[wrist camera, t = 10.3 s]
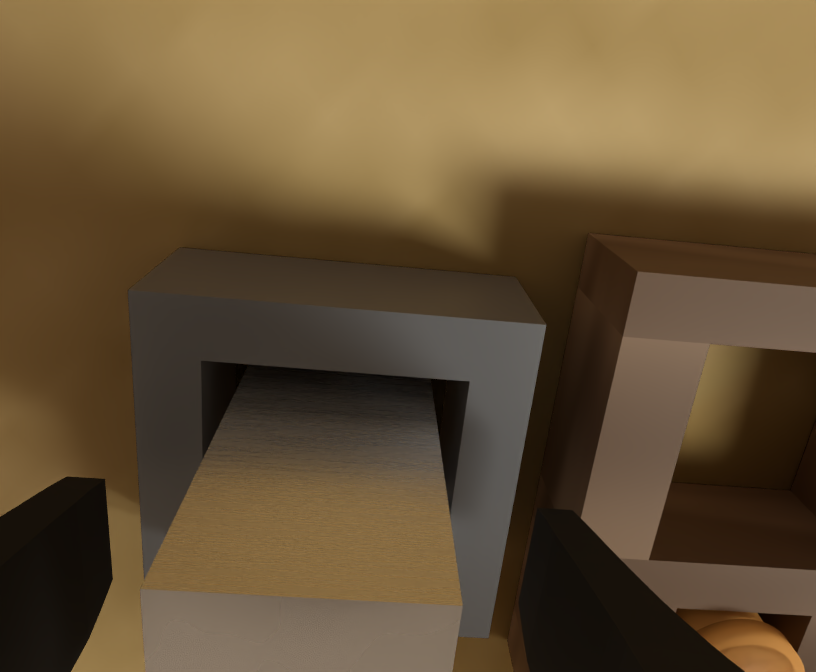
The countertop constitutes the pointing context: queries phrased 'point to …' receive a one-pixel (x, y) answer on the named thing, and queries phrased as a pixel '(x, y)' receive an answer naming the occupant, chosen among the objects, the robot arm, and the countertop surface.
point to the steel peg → (311, 535)
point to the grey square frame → (347, 352)
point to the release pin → (744, 640)
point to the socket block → (680, 428)
